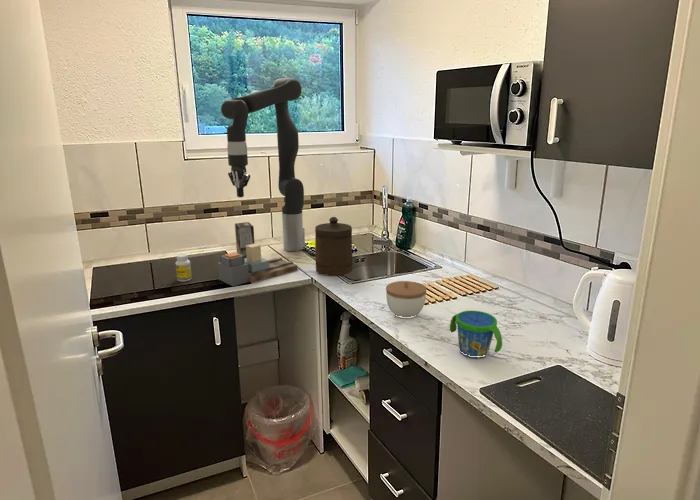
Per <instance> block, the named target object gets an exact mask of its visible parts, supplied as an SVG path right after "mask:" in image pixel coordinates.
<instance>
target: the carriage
mask: <svg viewBox="0 0 700 500" xmlns="http://www.w3.org/2000/svg"><path fill="white" fill-rule="evenodd" d="M261 247H262V246H261V245H260V244H257V243H255V244H250V245H246V255H247V258H245V259H244V260H245V263H246V264H248V271H250V272H256V271H260V270H263V269H267V268H270V265H269V260H270V259H266V258H263V257H262V250H261Z"/></svg>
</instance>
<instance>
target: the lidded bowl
mask: <svg viewBox="0 0 700 500" xmlns="http://www.w3.org/2000/svg"><path fill="white" fill-rule="evenodd" d="M385 287H386V288H385V291H386V302H387V306H388V309H389V310H390V311H391V312H392V313H393V315H394V314H395V315H397V316H402V317H411V316H415V315H416V316H417V315H419V313H421V311H423V309H424V306H425V303H426V295H427V294H426V293H427V287H426V285H424V284H421V282H417V281H411V280H410V281H409V280H398V281H393V282H390V283H388V284H387V285H386V286H385ZM395 315H394V316H395Z"/></svg>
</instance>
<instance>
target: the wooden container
mask: <svg viewBox="0 0 700 500" xmlns="http://www.w3.org/2000/svg"><path fill="white" fill-rule="evenodd" d="M328 221H329V222H326V223H325V222H324V223H320V224H318V225H316V226H315V227H314V232H315V234H314V235H315V242H314V245H315V247H314V248H315V249H314V250H315V253H314V255H315V256H314V258H315V272H316V273H317V274H319V275H322V276H326V277H327V276H330V277H337V276H336V275H340V276H345V275H348V274H350V273H351V272H353V240H352V239H353V238H352V237H353V228H352V225H351V224H347V223H341V222H339V219H338V218H337V217H335V216H331V217H330V218H329V220H328Z"/></svg>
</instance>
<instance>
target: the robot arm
mask: <svg viewBox="0 0 700 500" xmlns="http://www.w3.org/2000/svg"><path fill="white" fill-rule="evenodd" d="M301 95H302V86H301V82H300V81H299V80H297V79H296V78H293V77H286V78H283V77H282V78H278V79H276V80H274V82H273V85H272V88H268V89H267V88H266V89H262V90H257V91H254V92H252V93H248V94H246V95H243V96H238V97H233V98H230V99H227V100H225V101H223V103H222V104H221V107H220V111H221V114H222V116H223V117H224V118H225V119H229V120H232V124H231V125H229V126H227V128H226V138H227V140H226V141H227V144H226V147H227V148H226V149H227V150H226V151H227V160H228V166H230V167H231V168H230V171H229V172H228V173H227V175H228V178H229V179H230V182H231V183H232V184H231V185H232V186H234V187H235V188H236V197H238V198H243V197H245V196H244V195H245V192H244V191H245V190H244V188H245V187H247V186H248V183H249V182H250V179H251V174H248V173H247V168H246V166H248V165H249V157H248V145H247V139H246V137H247V136H246V129H247V124H248V118H249V114H253V113H256V112H258V111H261V110H263V109H266V108H268V107H271V106H274V109H275V110H274V111H275V116H276V117H275V120H276V135H277V136H276V137H277V150H278V151H277V152H278V191H279V194H280V195H282V196H283V197H284V205H283V206H282V207H281V219H282V220H281V221H282V241H283V250H284V251H287V252H298V251H302V250H303V249H304V248H303V247H305V248H306V238H305V237H306V236H305V234H306V232H305V227H304V226H303V225H304V223H303V208H304V203H305V187H304V184H303V182H302V181H301V179H298V178H296V173H295V164H296V159H297V156H298V152H299V145H300V142H299V132H298V129H297V126H296V125H295V124H296V123H294V120H293V119H292V117H291V115H290V111H289V102H293V101H296V100H298V99H299V98H300V97H301Z"/></svg>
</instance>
